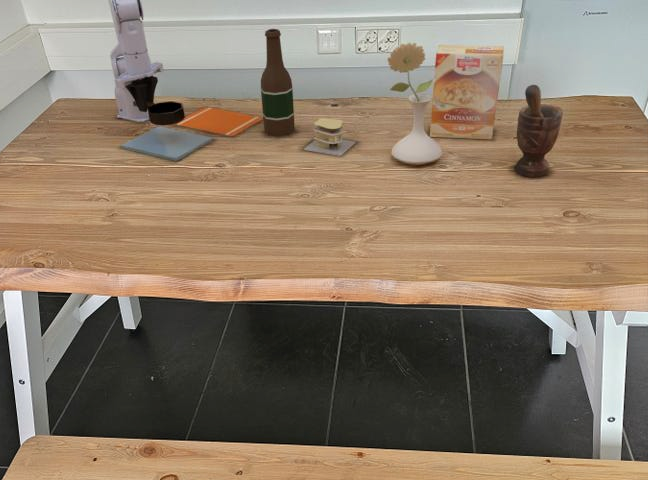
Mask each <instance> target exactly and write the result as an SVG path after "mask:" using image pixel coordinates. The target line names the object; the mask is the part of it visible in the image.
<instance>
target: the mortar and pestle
mask: <svg viewBox="0 0 648 480" xmlns="http://www.w3.org/2000/svg"><path fill="white" fill-rule="evenodd" d="M524 95H525V100H526V104H527V105H525V106H523V107H521V108H520V109H519V112H518V116H517V126H516V141H517V147H518V148H519V150H520V151H521V153H522V156H521V157H520V158H519V159H518V161H516V164H515V165H513V170H514V171H515V172H516V173H518V174H519V175H521V176H523V177H526V178H540V177H543V176H547V175H548V174H549V173H550V168H551V167H550V162H549V161H548V160H547V159H546V158H545V157H546V155H547V154H548V153H550V152H551V150H552V149H553V148H554V146H555V144H556V141H557V140H558V136H559V133H560V129H561V123H562V119H563V116H564V115H563V114H564V111H563V109H562V108H561V107H560V106H557V105H553V104H547V103H543V104H541V103H542V91H541V89H540V87H539V86H538V85H536V84H531V85H528V86H527V87H526V88H525V92H524Z"/></svg>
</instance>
